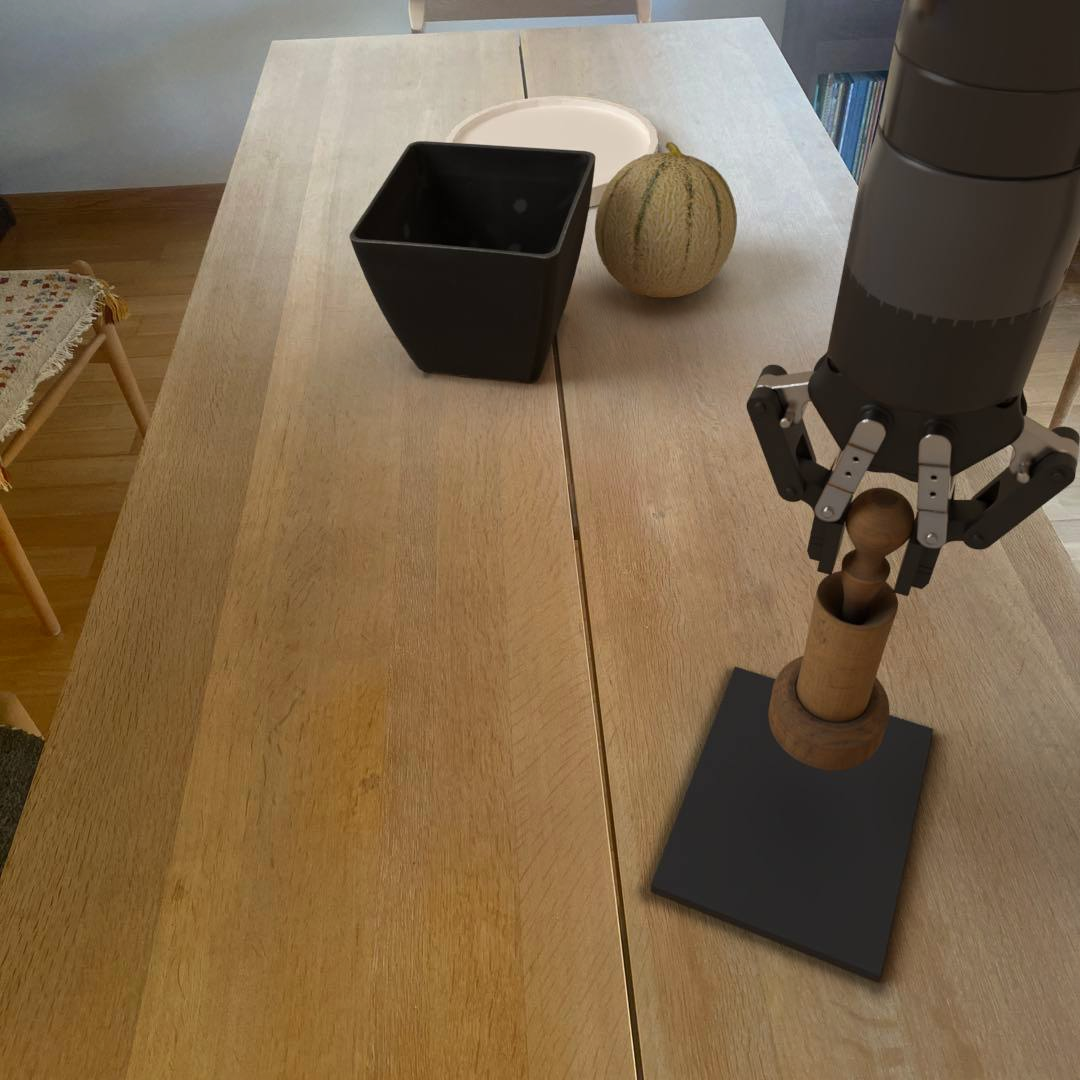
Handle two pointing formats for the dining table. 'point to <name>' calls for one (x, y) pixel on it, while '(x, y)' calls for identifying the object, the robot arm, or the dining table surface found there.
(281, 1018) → the dining table surface
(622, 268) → the cantaloupe
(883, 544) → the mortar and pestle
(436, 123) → the dining table surface
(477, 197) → the flower pot
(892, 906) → the mat
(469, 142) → the plate
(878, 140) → the robot arm
